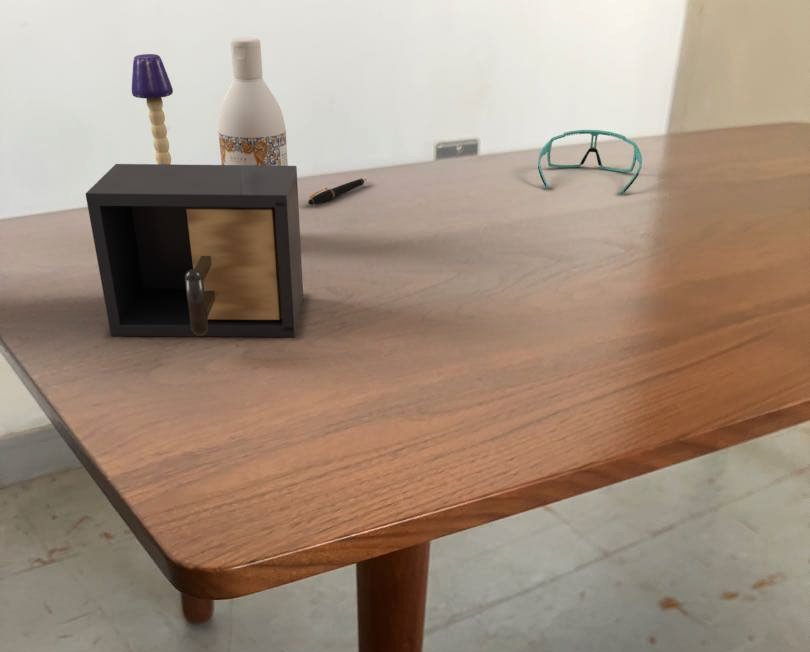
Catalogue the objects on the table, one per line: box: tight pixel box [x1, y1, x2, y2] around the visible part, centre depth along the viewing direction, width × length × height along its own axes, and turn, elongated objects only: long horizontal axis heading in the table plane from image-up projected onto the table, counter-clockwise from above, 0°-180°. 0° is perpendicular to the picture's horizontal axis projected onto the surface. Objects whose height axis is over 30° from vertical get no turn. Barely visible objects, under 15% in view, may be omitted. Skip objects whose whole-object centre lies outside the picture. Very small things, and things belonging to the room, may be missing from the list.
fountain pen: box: [307, 177, 368, 206], centre depth 118 cm, size 14×1×2 cm, turn 151°
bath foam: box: [217, 36, 289, 166], centre depth 96 cm, size 7×7×20 cm
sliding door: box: [185, 207, 281, 337], centre depth 75 cm, size 7×7×9 cm
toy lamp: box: [131, 53, 174, 164], centre depth 109 cm, size 5×5×17 cm
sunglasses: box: [537, 129, 643, 195], centre depth 127 cm, size 14×15×5 cm
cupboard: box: [85, 163, 304, 338], centre depth 81 cm, size 16×10×12 cm, turn 91°
